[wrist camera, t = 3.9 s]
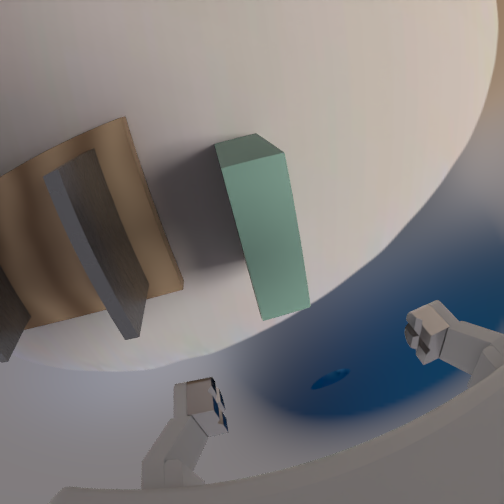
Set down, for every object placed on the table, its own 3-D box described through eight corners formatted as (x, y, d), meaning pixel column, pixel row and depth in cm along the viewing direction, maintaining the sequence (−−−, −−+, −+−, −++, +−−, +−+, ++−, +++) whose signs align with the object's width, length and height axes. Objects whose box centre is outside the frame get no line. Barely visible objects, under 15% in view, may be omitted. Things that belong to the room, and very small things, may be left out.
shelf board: (125, 116, 21) (120, 117, 20) (183, 280, 29) (183, 289, 28) (-43, 206, 21) (-50, 211, 20) (21, 323, 29) (16, 331, 27)
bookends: (94, 148, 21) (58, 169, 15) (149, 284, 27) (139, 337, 21) (-32, 215, 20) (-72, 247, 14) (24, 318, 27) (1, 362, 21)
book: (256, 133, 24) (285, 152, 16) (281, 249, 30) (311, 307, 22) (213, 144, 24) (220, 168, 16) (244, 259, 29) (262, 322, 22)
